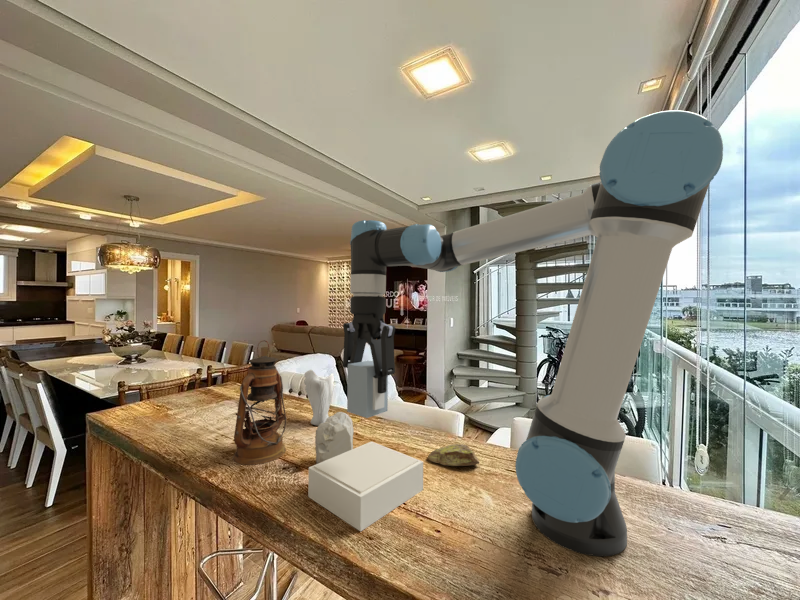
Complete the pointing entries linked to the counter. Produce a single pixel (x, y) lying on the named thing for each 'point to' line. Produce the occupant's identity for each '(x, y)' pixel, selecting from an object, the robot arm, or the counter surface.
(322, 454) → the stone
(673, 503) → the counter surface
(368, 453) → the plinth
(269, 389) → the lantern
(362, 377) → the block
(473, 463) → the rock
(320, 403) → the white figurine
